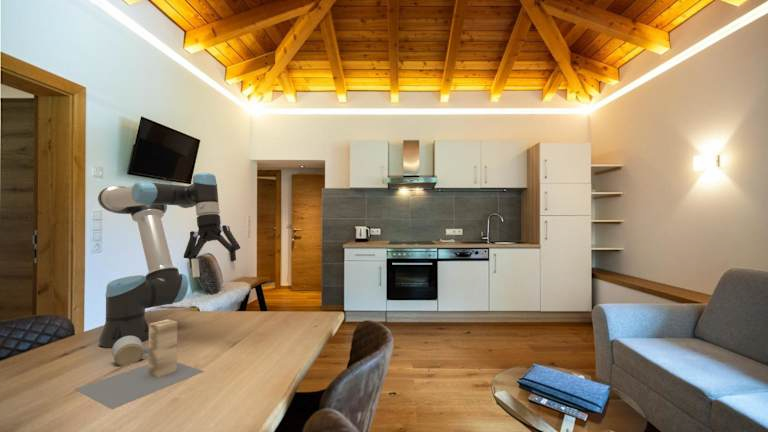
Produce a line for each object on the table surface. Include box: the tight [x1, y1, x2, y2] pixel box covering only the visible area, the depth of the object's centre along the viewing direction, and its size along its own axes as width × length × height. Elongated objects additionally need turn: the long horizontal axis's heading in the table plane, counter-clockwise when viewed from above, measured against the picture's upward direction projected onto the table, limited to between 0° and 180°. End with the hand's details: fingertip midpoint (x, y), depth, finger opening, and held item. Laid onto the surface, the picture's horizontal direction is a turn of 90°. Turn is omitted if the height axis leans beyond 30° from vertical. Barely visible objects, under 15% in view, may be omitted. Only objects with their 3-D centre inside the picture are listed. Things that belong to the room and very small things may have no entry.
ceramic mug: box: [111, 336, 149, 367], centre depth 104 cm, size 11×8×8 cm
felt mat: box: [74, 361, 205, 410], centre depth 89 cm, size 20×22×1 cm
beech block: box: [147, 319, 178, 378], centre depth 94 cm, size 5×5×14 cm
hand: (214, 274), depth 117 cm, fingers open, 13 cm apart
